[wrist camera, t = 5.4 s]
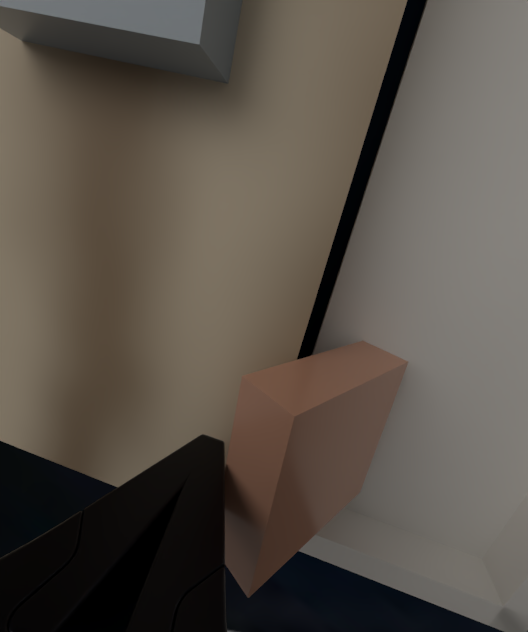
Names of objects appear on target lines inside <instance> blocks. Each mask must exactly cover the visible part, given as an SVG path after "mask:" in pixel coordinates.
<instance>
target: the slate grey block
mask: <svg viewBox="0 0 528 632" xmlns="http://www.w3.org/2000/svg"><path fill="white" fill-rule="evenodd" d="M242 1H243V0H0V28H1V29H2V30H4V31H6V32H8V33H9V34H11V35H13V36H14V37H16V38H18V39H19V40H21V41H25V42H30V43H34V44H39V45H44V46H49V47H54V48H58V49H63V50H68V51H73V52H78V53H83V54H87V55H92V56H97V57H102V58H107V59H111V60H116V61H121V62H126V63H131V64H135V65H140V66H145V67H150V68H155V69H160V70H164V71H169V72H174V73H179V74H184V75H188V76H193V77H198V78H203V79H208V80H212V81H217V82H222V83H227V84H228V83H229V77H230V71H231V66H232V60H233V54H234V48H235V42H236V36H237V30H238V24H239V19H240V13H241V7H242Z"/></svg>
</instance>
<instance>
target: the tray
mask: <svg viewBox="0 0 528 632" xmlns="http://www.w3.org/2000/svg"><path fill="white" fill-rule="evenodd" d="M360 341H365V342H367V343H369V344H371V345H374V346H376V347H378V348H380V349H382V350H384V351H387V352H389V353H391V354H393V355H395V356H397V357H399V358H402V359H404V360H406V361H408V365H407V367H406V370H405V373H404V375H403V378H402V381H401V384H400V386H399V389H398V392H397V394H396V397H395V400H394V402H393V405H392V408H391V410H390V413H389V416H388V419H387V421H386V424H385V427H384V429H383V432H382V435H381V437H380V440H379V443H378V445H377V448H376V451H375V454H374V456H373V459H372V462H371V464H370V467H369V470H368V472H367V475H366V478H365V480H364V483H363V486H362V489H361V491H360V493H359V494H358V495H357V496H356V497H355V498H354V499H353V500H352V501H350V502H349V503H348V504H347V505H346V506H345V507H344V508H343V509H342V510H341V511H340V512H339V513H338V514H337V515H336V516H335V517H334V518H332V519H331V520H330V521H329V522H328V523H327V524H326V525H325V526H324V527H323V528H322V529H321V530H320V531H319V532H318V533H317V534H316V535H314V536H313V537H312V538H311V539H310V540H309V541H308V542H307V543H306V544H305V545H304V546H303V547H302V548H301V549H300V550H299V551H300V552H303V553H305V554H308V555H310V556H313V557H315V558H318V559H321V560H323V561H326V562H328V563H331V564H333V565H336V566H338V567H341V568H343V569H346V570H349V571H351V572H354V573H356V574H359V575H361V576H364V577H366V578H369V579H371V580H374V581H377V582H379V583H382V584H384V585H387V586H389V587H392V588H394V589H397V590H399V591H402V592H405V593H407V594H410V595H412V596H415V597H417V598H420V599H422V600H425V601H427V602H430V603H433V604H435V605H438V606H440V607H443V608H445V609H448V610H450V611H453V612H455V613H458V614H461V615H463V616H466V617H468V618H471V619H473V620H476V621H478V622H481V623H483V624H486V625H489V626H491V627H494V628H496V629H499V630H501V631H504V632H527V631H528V0H426V3H425V6H424V9H423V12H422V15H421V18H420V21H419V24H418V27H417V31H416V34H415V37H414V40H413V43H412V46H411V49H410V52H409V55H408V58H407V61H406V65H405V68H404V71H403V74H402V77H401V80H400V83H399V86H398V89H397V92H396V95H395V99H394V102H393V105H392V108H391V111H390V114H389V117H388V120H387V123H386V126H385V129H384V132H383V136H382V139H381V142H380V145H379V148H378V151H377V154H376V157H375V160H374V163H373V166H372V170H371V173H370V176H369V179H368V182H367V185H366V188H365V191H364V194H363V197H362V200H361V204H360V207H359V210H358V213H357V216H356V219H355V222H354V225H353V228H352V231H351V234H350V237H349V241H348V244H347V247H346V250H345V253H344V256H343V259H342V262H341V265H340V268H339V271H338V275H337V278H336V281H335V284H334V287H333V290H332V293H331V296H330V299H329V302H328V305H327V308H326V312H325V315H324V318H323V321H322V324H321V327H320V330H319V333H318V336H317V339H316V342H315V346H314V349H313V352H312V355H315V354H319V353H322V352H325V351H329V350H332V349H336V348H339V347H343V346H346V345H349V344H353V343H356V342H360ZM312 355H311V356H312Z"/></svg>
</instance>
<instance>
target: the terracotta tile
mask: <svg viewBox="0 0 528 632" xmlns="http://www.w3.org/2000/svg"><path fill="white" fill-rule="evenodd" d="M407 365H408V361H406V360H404V359H402V358H399V357H397V356H395V355H393V354H391V353H389V352H387V351H384V350H382V349H380V348H378V347H376V346H374V345H371V344H369V343H367V342H365V341H360V342H356V343H353V344H349V345H346V346H343V347H339V348H336V349H332V350H329V351H325V352H322V353H319V354H315V355H312V356H308V357H305V358H301V359H298V360H295V361H291V362H288V363H284V364H281V365H277V366H274V367H271V368H267V369H264V370H260V371H257V372H254V373H250V374H247V375H243V376H242V379H241V384H240V390H239V395H238V401H237V406H236V412H235V417H234V423H233V428H232V434H231V439H230V445H229V450H228V456H227V461H226V467H225V564H226V566H227V567H228V569H229V570H230V572H231V573H232V575H233V576H234V578H235V579H236V581H237V582H238V584H239V585H240V587H241V588H242V590H243V591H244V593H245V594H246V596H247V597H248V598H249V597H250V596H251V595H252V594H253V593H254V592H255V591H256V590H257V589H258V588H259V587H260V586H262V585H263V584H264V583H265V582H266V581H267V580H268V579H269V578H270V577H271V576H272V575H273V574H274V573H275V572H276V571H277V570H278V569H280V568H281V567H282V566H283V565H284V564H285V563H286V562H287V561H288V560H289V559H290V558H291V557H292V556H293V555H294V554H295V553H296V552H298V551H299V550H300V549H301V548H302V547H303V546H304V545H305V544H306V543H307V542H308V541H309V540H310V539H311V538H312V537H313V536H314V535H316V534H317V533H318V532H319V531H320V530H321V529H322V528H323V527H324V526H325V525H326V524H327V523H328V522H329V521H330V520H331V519H332V518H334V517H335V516H336V515H337V514H338V513H339V512H340V511H341V510H342V509H343V508H344V507H345V506H346V505H347V504H348V503H349V502H350V501H352V500H353V499H354V498H355V497H356V496H357V495H358V494H359V493H360V491H361V489H362V486H363V483H364V480H365V478H366V475H367V472H368V470H369V467H370V464H371V462H372V459H373V456H374V454H375V451H376V448H377V445H378V443H379V440H380V437H381V435H382V432H383V429H384V427H385V424H386V421H387V419H388V416H389V413H390V410H391V408H392V405H393V402H394V400H395V397H396V394H397V392H398V389H399V386H400V384H401V381H402V378H403V375H404V373H405V370H406V367H407Z"/></svg>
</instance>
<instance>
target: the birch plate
mask: <svg viewBox="0 0 528 632" xmlns="http://www.w3.org/2000/svg"><path fill="white" fill-rule="evenodd" d="M406 3H407V0H243V1H242V7H241V13H240V19H239V24H238V30H237V36H236V42H235V48H234V54H233V60H232V66H231V71H230V77H229V83H228V84H227V83H222V82H217V81H212V80H208V79H203V78H198V77H193V76H188V75H184V74H179V73H174V72H169V71H164V70H160V69H155V68H150V67H145V66H140V65H135V64H131V63H126V62H121V61H116V60H111V59H107V58H102V57H97V56H92V55H87V54H83V53H78V52H73V51H68V50H63V49H58V48H54V47H49V46H44V45H39V44H34V43H30V42H25V41H21V40H19V39H18V38H16V37H14V36H13V35H11V34H9V33H8V32H6V31H4V30H2V29H1V28H0V441H2V442H5V443H7V444H10V445H12V446H15V447H18V448H20V449H23V450H25V451H28V452H30V453H33V454H35V455H38V456H40V457H43V458H45V459H48V460H50V461H53V462H55V463H58V464H60V465H63V466H65V467H68V468H71V469H73V470H76V471H78V472H81V473H83V474H86V475H88V476H91V477H93V478H96V479H98V480H101V481H103V482H106V483H108V484H111V485H113V486H116V487H119V486H121V485H122V484H124V483H126V482H127V481H129V480H130V479H132V478H133V477H135V476H137V475H138V474H140V473H141V472H143V471H145V470H146V469H148V468H149V467H151V466H152V465H154V464H156V463H157V462H159V461H160V460H162V459H163V458H165V457H167V456H168V455H170V454H171V453H173V452H174V451H176V450H178V449H179V448H181V447H182V446H184V445H185V444H187V443H189V442H190V441H192V440H193V439H195V438H197V437H198V436H200V435H202V434H205V435H208V436H211V437H213V438H216V439H219V440H222V441H224V443H225V467H226V461H227V456H228V450H229V445H230V439H231V434H232V428H233V423H234V417H235V412H236V406H237V401H238V395H239V390H240V384H241V379H242V376H243V375H247V374H250V373H254V372H257V371H260V370H264V369H267V368H271V367H274V366H277V365H281V364H284V363H288V362H291V361H295V360H297V357H298V354H299V351H300V347H301V344H302V341H303V338H304V334H305V331H306V328H307V325H308V321H309V318H310V315H311V312H312V309H313V305H314V302H315V299H316V296H317V292H318V289H319V286H320V283H321V279H322V276H323V273H324V270H325V266H326V263H327V260H328V257H329V253H330V250H331V247H332V244H333V240H334V237H335V234H336V231H337V227H338V224H339V221H340V218H341V214H342V211H343V208H344V205H345V201H346V198H347V195H348V192H349V188H350V185H351V182H352V179H353V175H354V172H355V169H356V166H357V162H358V159H359V156H360V153H361V149H362V146H363V143H364V140H365V136H366V133H367V130H368V127H369V123H370V120H371V117H372V114H373V111H374V107H375V104H376V101H377V98H378V94H379V91H380V88H381V85H382V81H383V78H384V75H385V72H386V68H387V65H388V62H389V59H390V55H391V52H392V49H393V46H394V42H395V39H396V36H397V33H398V29H399V26H400V23H401V20H402V16H403V13H404V10H405V7H406Z"/></svg>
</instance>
